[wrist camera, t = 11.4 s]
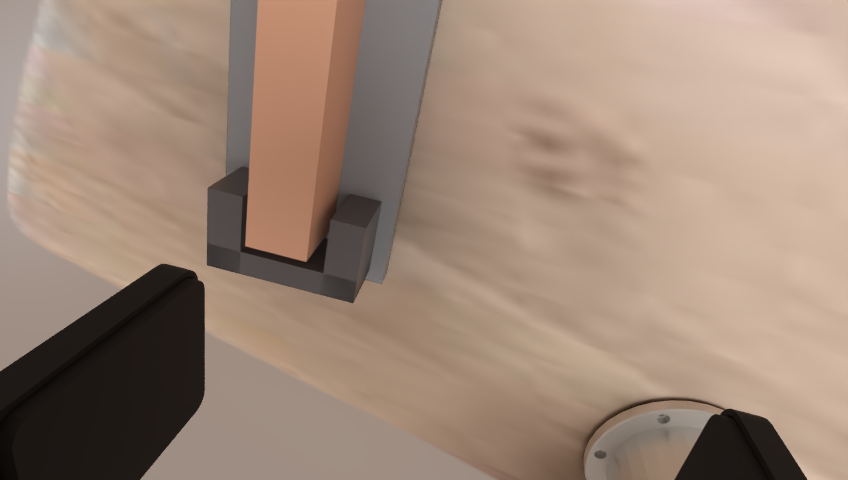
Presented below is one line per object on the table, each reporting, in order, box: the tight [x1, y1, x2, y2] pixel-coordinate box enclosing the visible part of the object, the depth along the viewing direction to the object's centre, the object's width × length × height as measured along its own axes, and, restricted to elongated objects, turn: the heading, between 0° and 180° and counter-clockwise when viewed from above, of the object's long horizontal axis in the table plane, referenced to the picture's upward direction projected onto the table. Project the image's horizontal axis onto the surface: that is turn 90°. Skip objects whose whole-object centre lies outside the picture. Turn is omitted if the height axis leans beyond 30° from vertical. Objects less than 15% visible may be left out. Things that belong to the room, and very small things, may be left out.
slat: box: [245, 0, 366, 262], centre depth 25 cm, size 20×4×5 cm, turn 168°
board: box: [226, 0, 442, 284], centre depth 28 cm, size 27×11×2 cm, turn 168°
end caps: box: [207, 167, 382, 303], centre depth 26 cm, size 25×9×4 cm, turn 168°
